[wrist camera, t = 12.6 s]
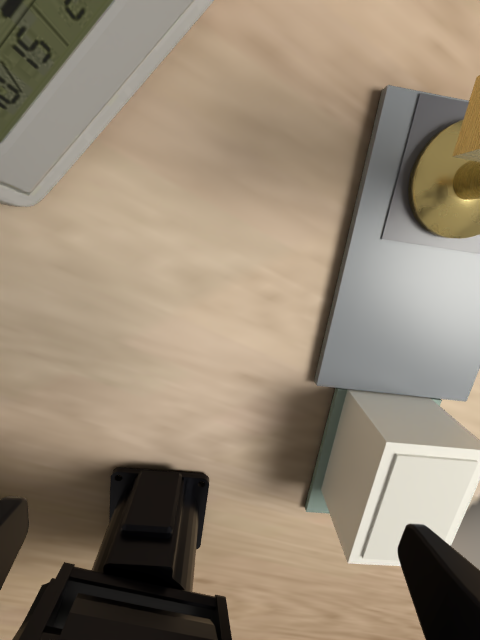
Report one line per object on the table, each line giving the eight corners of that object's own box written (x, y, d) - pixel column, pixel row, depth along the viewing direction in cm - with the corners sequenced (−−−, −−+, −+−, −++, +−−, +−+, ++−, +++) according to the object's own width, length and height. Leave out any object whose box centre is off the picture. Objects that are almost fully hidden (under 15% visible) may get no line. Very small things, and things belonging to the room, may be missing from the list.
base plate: (459, 396, 21) (467, 402, 20) (313, 380, 20) (317, 386, 19) (564, 125, 16) (579, 121, 16) (381, 90, 15) (389, 84, 15)
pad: (395, 513, 24) (397, 518, 23) (304, 507, 23) (306, 511, 23) (437, 396, 21) (441, 400, 20) (335, 386, 20) (338, 389, 20)
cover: (394, 494, 22) (442, 570, 18) (321, 489, 22) (348, 566, 17) (429, 397, 20) (495, 453, 15) (347, 389, 20) (388, 444, 15)
